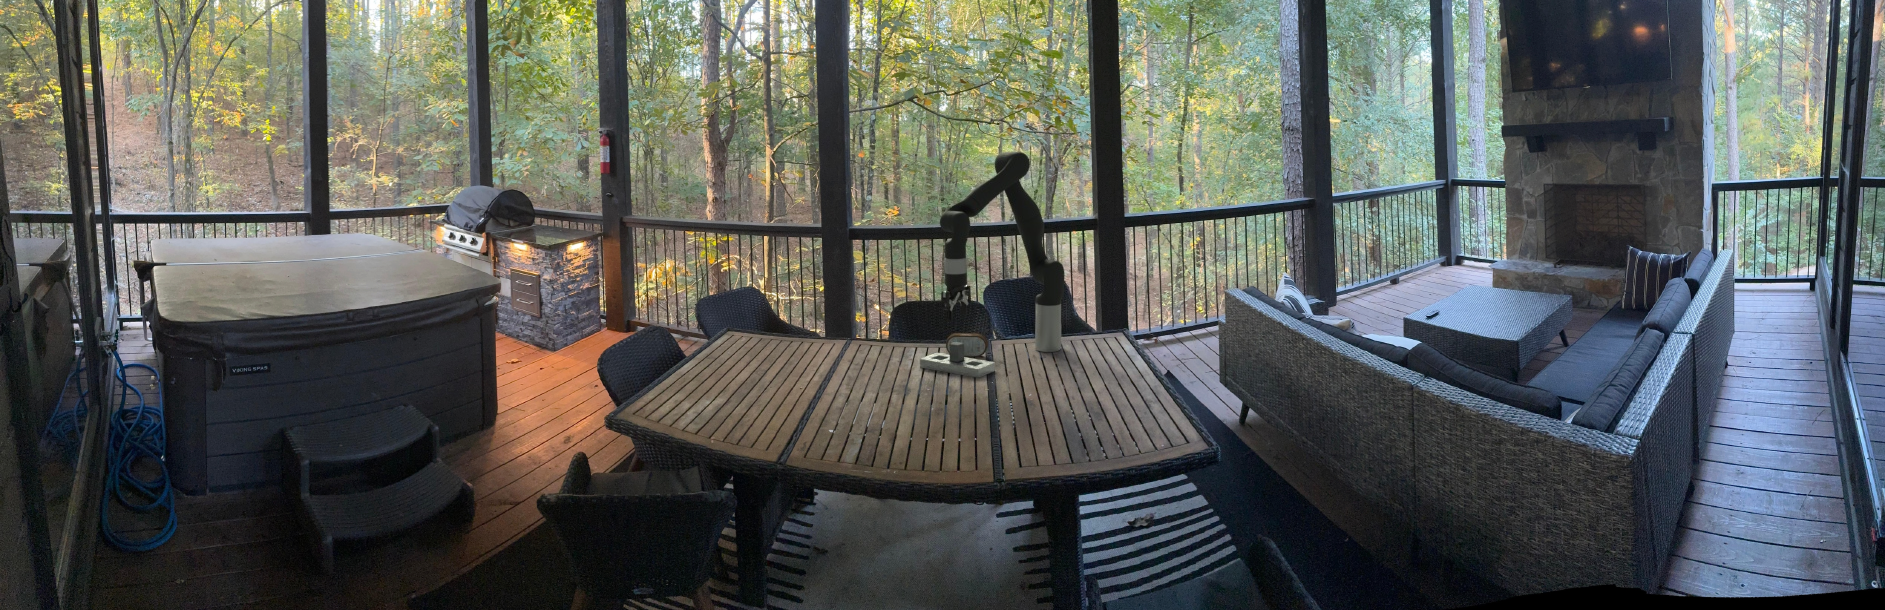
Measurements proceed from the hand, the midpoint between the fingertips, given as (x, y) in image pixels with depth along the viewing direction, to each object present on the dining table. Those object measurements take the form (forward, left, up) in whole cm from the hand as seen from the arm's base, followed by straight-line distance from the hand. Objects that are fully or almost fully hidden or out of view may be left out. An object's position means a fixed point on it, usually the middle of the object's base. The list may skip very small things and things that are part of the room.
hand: (956, 318), depth 305 cm
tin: (-16, -7, -18) cm, 25 cm away
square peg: (0, 0, -18) cm, 18 cm away
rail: (0, 0, -18) cm, 18 cm away
